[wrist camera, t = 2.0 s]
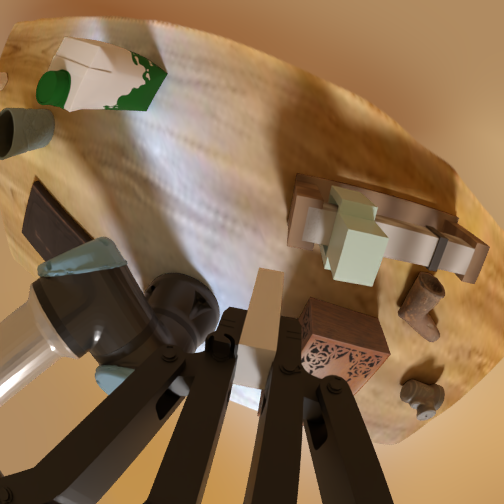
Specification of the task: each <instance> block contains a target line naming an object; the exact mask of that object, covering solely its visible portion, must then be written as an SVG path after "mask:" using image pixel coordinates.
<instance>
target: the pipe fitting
mask: <svg viewBox="0 0 504 504" xmlns="http://www.w3.org/2000/svg"><path fill="white" fill-rule="evenodd" d="M444 396H445V393H444V389H443V387H442V386H440V385H437V384H432V385H429V386H428V385H426V384H424V383H421V382H419V381H416V380H413V379H412V380H409V381H407V382H406V383H405V384H404V385H403V387H402V389H401V392H400V398H401V400H402V401H404V402H406V403H409V404H410V406H411V407H412V408H414V409H417V419H418V420H427V419H430V418H431V417H433V416H434V415H435V414H436V410H437V409H439V408H440V406H441V405H442V403H443V401H444Z"/></svg>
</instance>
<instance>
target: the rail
mask: <svg viewBox="0 0 504 504" xmlns="http://www.w3.org/2000/svg"><path fill="white" fill-rule="evenodd" d="M332 185H333V186H337V187H341V188H346V189H350V190H354V191H358V192H361V193H362V194H363V195H364V196H366V197H367V198H368V199H369V200H370V201H371V202H372V203H373V204H375V205H376V206H377V207H378V209H377V213H376V217H375V220H374V221H375V222H376V224H377V225H378V226H379V227H380V228H381V229H382V230H383V232H384V233H385V234H386V235H387V236H388V238H389V240H388V243H387V246H386V249H385V252H384V255H383V257H386V258H390V259H395V260H400V261H404V262H409V263H414V264H418V265H423V266H426V268H427V269H428V270H431V271H437V269H440V270H445V271H449V272H453V273H455V274H456V275H457V276H458V278H459V279H460V280H461V281H463V282H467V283H472V284H475V282H476V280H477V277H478V275H479V273H480V271H481V268H482V266H483V263H484V261H485V258H486V256H487V253H488V250H489V248H490V247H489V246H488V245H487V244H485V243H484V242H483V241H481V240H480V239H479V238H477V237H476V236H474V235H473V234H472V233H470V232H469V231H467V230H466V229H465V228H463V227H462V226H460V225H459V224H457V222H458V219H459V218H458V217H457V216H454V215H451V214H448V213H445V212H442V211H439V210H436V209H433V208H430V207H427V206H424V205H421V204H418V203H415V202H412V201H408V200H405V199H402V198H398V197H395V196H391V195H388V194H384V193H380V192H377V191H373V190H369V189H365V188H361V187H357V186H353V185H349V184H345V183H341V182H336V181H332V180H327V179H323V178H318V177H313V176H308V175H303V174H298V173H297V176H296V182H295V187H294V192H293V198H292V203H291V208H290V214H289V219H288V224H287V226H288V238H287V246H289V247H295V248H300V249H305V250H310V251H313V247H314V243H317V244H322V245H327V246H329V243H330V239H331V235H332V231H333V227H334V223H335V219H336V215H337V211H338V207H339V206H338V205H335V204H330V203H328V200H329V195H330V190H331V186H332Z"/></svg>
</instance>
